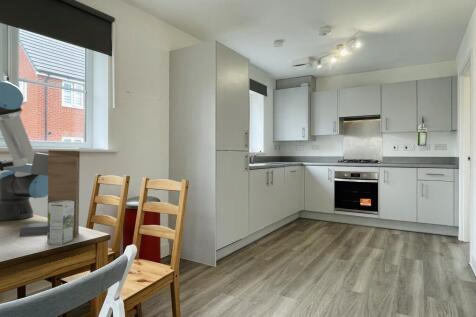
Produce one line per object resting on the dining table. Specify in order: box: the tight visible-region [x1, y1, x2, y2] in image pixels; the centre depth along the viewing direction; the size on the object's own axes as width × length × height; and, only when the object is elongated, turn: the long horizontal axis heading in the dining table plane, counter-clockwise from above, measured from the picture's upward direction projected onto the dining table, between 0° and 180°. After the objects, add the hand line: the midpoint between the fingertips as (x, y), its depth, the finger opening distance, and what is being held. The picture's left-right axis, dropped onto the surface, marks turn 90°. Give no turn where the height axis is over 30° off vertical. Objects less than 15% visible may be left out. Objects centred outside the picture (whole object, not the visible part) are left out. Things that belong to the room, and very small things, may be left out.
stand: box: [46, 149, 81, 239], centre depth 109 cm, size 8×9×32 cm
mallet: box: [0, 152, 48, 176], centre depth 109 cm, size 17×4×8 cm, turn 114°
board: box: [19, 222, 48, 237], centre depth 115 cm, size 7×14×3 cm, turn 112°
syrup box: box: [46, 200, 74, 245], centre depth 101 cm, size 6×6×14 cm
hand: (25, 161), depth 109 cm, fingers closed on mallet, 3 cm apart
